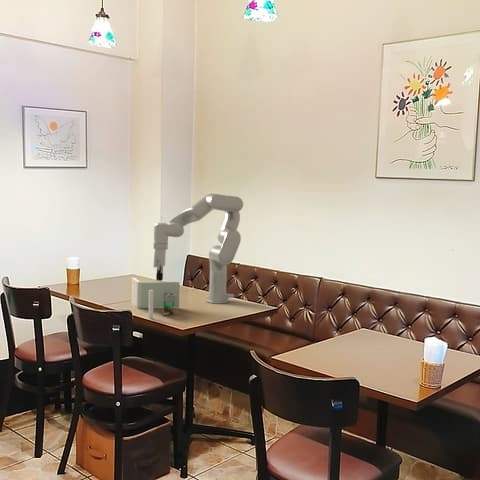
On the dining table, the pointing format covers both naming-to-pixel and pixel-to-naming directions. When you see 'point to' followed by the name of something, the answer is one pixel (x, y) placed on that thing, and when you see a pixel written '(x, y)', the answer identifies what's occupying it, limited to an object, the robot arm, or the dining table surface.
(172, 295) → the food container
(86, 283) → the dining table surface
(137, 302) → the door frame
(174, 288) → the door
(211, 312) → the dining table surface
